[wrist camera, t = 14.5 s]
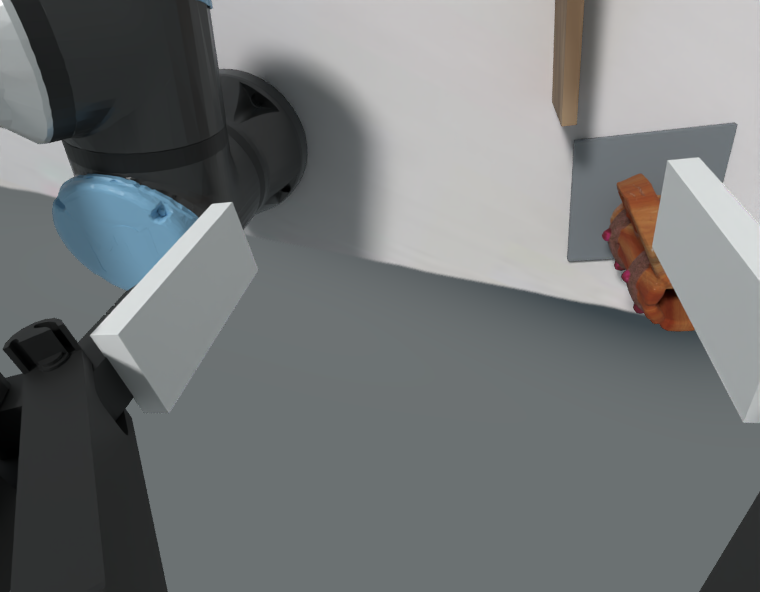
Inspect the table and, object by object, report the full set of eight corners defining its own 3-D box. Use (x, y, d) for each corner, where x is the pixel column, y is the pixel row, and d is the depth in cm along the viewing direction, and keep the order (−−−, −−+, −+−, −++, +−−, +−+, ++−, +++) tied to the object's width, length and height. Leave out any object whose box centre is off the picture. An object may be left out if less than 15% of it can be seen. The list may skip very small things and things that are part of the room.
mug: (695, 240, 52) (757, 334, 41) (616, 268, 56) (652, 362, 44) (656, 120, 46) (716, 190, 34) (569, 161, 49) (596, 237, 38)
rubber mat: (567, 258, 57) (567, 261, 56) (574, 140, 49) (575, 142, 48) (702, 250, 53) (704, 253, 53) (734, 122, 45) (737, 124, 45)
